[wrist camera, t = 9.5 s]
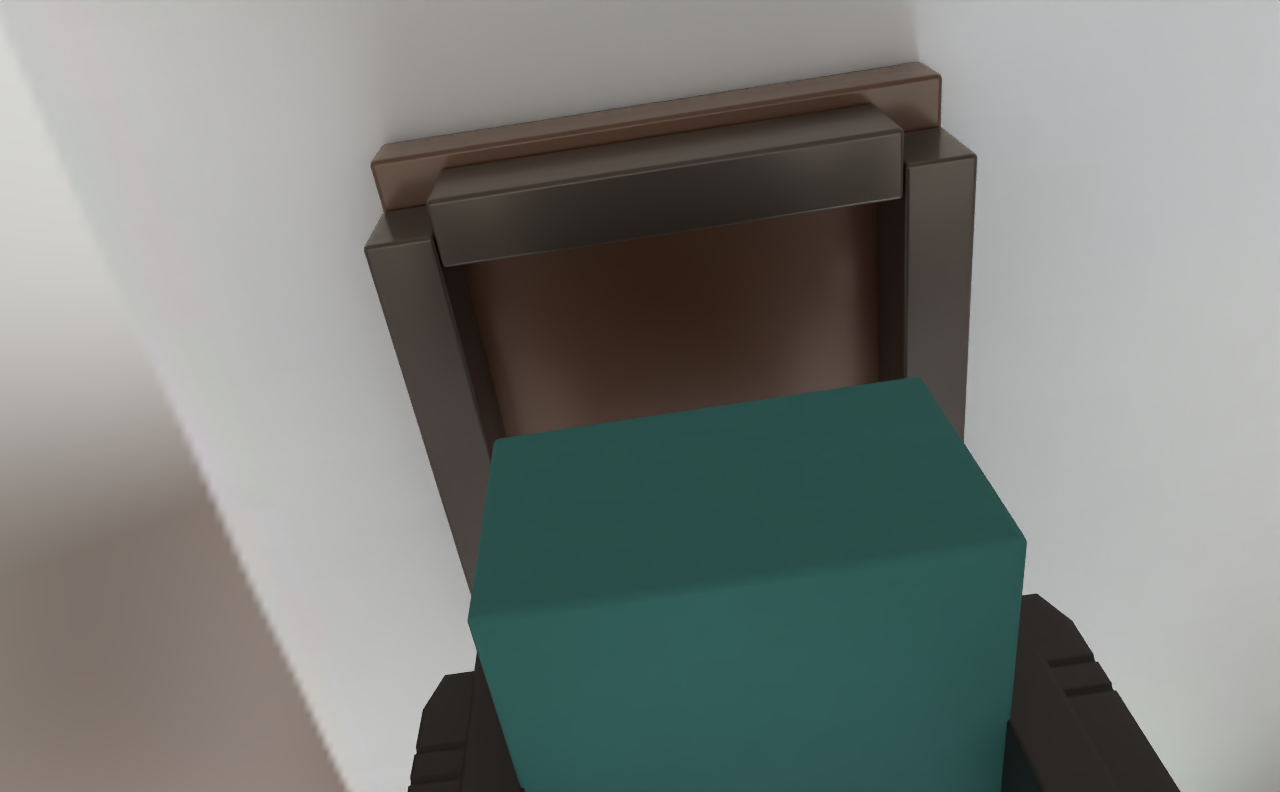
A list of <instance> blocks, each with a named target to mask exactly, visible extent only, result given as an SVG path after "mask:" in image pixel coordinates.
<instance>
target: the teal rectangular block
mask: <svg viewBox="0 0 1280 792" xmlns="http://www.w3.org/2000/svg"><path fill="white" fill-rule="evenodd" d="M1026 546H1027V541H1026V539H1025V537H1024V535H1023V534H1022V532H1021V530H1020V529H1019V527H1018V526H1017V524H1016V523H1015V521H1014V520H1013V518H1012V517H1011V515H1010V513H1009V512H1008V510H1007V509H1006V507H1005V506H1004V504H1003V503H1002V501H1001V500H1000V498H999V497H998V495H997V493H996V492H995V490H994V489H993V487H992V486H991V484H990V483H989V481H988V480H987V478H986V476H985V475H984V473H983V472H982V470H981V469H980V467H979V466H978V464H977V463H976V461H975V460H974V458H973V456H972V455H971V453H970V452H969V450H968V449H967V447H966V446H965V444H964V443H963V441H962V439H961V438H960V436H959V435H958V433H957V432H956V430H955V429H954V427H953V426H952V424H951V423H950V421H949V419H948V418H947V416H946V415H945V413H944V412H943V410H942V409H941V407H940V406H939V404H938V402H937V401H936V399H935V398H934V396H933V395H932V393H931V392H930V390H929V389H928V387H927V386H926V384H925V382H924V381H923V379H922V378H920V377H911V378H904V379H897V380H891V381H884V382H877V383H870V384H864V385H857V386H850V387H843V388H837V389H830V390H823V391H816V392H810V393H803V394H796V395H789V396H783V397H776V398H769V399H762V400H756V401H749V402H742V403H735V404H729V405H722V406H715V407H709V408H702V409H695V410H688V411H682V412H675V413H668V414H661V415H655V416H648V417H641V418H634V419H628V420H621V421H614V422H607V423H601V424H594V425H587V426H580V427H574V428H567V429H560V430H553V431H547V432H540V433H533V434H527V435H520V436H513V437H506V438H500V439H497V440H495V442H494V445H493V452H492V459H491V465H490V472H489V479H488V486H487V493H486V499H485V506H484V513H483V520H482V527H481V534H480V540H479V547H478V554H477V561H476V568H475V574H474V581H473V588H472V595H471V602H470V608H469V615H468V624H469V627H470V630H471V634H472V637H473V640H474V643H475V646H476V649H477V652H478V656H479V659H480V662H481V665H482V668H483V671H484V674H485V677H486V681H487V684H488V687H489V690H490V693H491V696H492V699H493V703H494V706H495V709H496V712H497V715H498V718H499V721H500V724H501V728H502V731H503V734H504V737H505V740H506V743H507V746H508V750H509V753H510V756H511V759H512V762H513V765H514V768H515V771H516V775H517V778H518V781H519V784H520V786H521V788H524V790H525V792H1001V784H1002V773H1003V762H1004V751H1005V740H1006V729H1007V721H1008V720H1010V716H1011V706H1012V695H1013V684H1014V674H1015V663H1016V652H1017V642H1018V631H1019V621H1020V610H1021V599H1022V589H1023V578H1024V567H1025V557H1026Z"/></svg>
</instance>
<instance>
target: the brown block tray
mask: <svg viewBox="0 0 1280 792" xmlns="http://www.w3.org/2000/svg"><path fill="white" fill-rule="evenodd" d="M941 95H942V77H941V75H940V74H939V73H937V72H936V71H934V70H932V69H931V68H929V67H928V66H926V65H925V64H923V63H920V62H916V63H910V64H903V65H897V66H891V67H884V68H878V69H871V70H865V71H858V72H852V73H845V74H839V75H832V76H826V77H819V78H813V79H806V80H800V81H793V82H787V83H781V84H774V85H768V86H761V87H755V88H748V89H742V90H735V91H729V92H722V93H716V94H709V95H703V96H696V97H690V98H683V99H677V100H671V101H664V102H658V103H651V104H645V105H638V106H632V107H625V108H619V109H612V110H606V111H599V112H593V113H586V114H580V115H573V116H567V117H561V118H554V119H548V120H541V121H535V122H528V123H522V124H515V125H509V126H502V127H496V128H489V129H483V130H476V131H470V132H464V133H457V134H451V135H444V136H438V137H431V138H425V139H418V140H412V141H405V142H399V143H392V144H386V145H383V146H382V147H381V148H380V150H379V151H378V153H377V154H376V156H375V157H374V159H373V160H372V162H371V170H372V173H373V177H374V180H375V183H376V187H377V190H378V194H379V197H380V200H381V204H382V207H383V211H384V213H383V214H382V216H381V218H380V220H379V221H378V223H377V225H376V227H375V229H374V230H373V232H372V234H371V236H370V238H369V240H368V241H367V243H366V245H365V247H364V252H365V255H366V258H367V262H368V265H369V268H370V271H371V274H372V278H373V281H374V284H375V287H376V291H377V294H378V297H379V300H380V303H381V307H382V310H383V313H384V316H385V320H386V323H387V326H388V329H389V332H390V336H391V339H392V342H393V345H394V349H395V352H396V355H397V358H398V361H399V365H400V368H401V371H402V374H403V378H404V381H405V384H406V387H407V390H408V394H409V397H410V400H411V403H412V407H413V410H414V413H415V416H416V419H417V423H418V426H419V429H420V432H421V435H422V439H423V442H424V445H425V448H426V452H427V455H428V458H429V461H430V464H431V468H432V471H433V474H434V477H435V481H436V484H437V487H438V490H439V493H440V497H441V500H442V503H443V506H444V510H445V513H446V516H447V519H448V522H449V526H450V529H451V532H452V535H453V539H454V542H455V545H456V548H457V551H458V555H459V558H460V561H461V564H462V568H463V571H464V574H465V577H466V580H467V584H468V587H469V590H470V593H471V595H472V588H473V581H474V574H475V568H476V561H477V554H478V547H479V540H480V534H481V527H482V520H483V513H484V506H485V499H486V493H487V486H488V479H489V472H490V465H491V459H492V452H493V445H494V442H495V440H497V439H500V438H506V437H513V436H520V435H527V434H533V433H540V432H547V431H553V430H560V429H567V428H574V427H580V426H587V425H594V424H601V423H607V422H614V421H621V420H628V419H634V418H641V417H648V416H655V415H661V414H668V413H675V412H682V411H688V410H695V409H702V408H709V407H715V406H722V405H729V404H735V403H742V402H749V401H756V400H762V399H769V398H776V397H783V396H789V395H796V394H803V393H810V392H816V391H823V390H830V389H837V388H843V387H850V386H857V385H864V384H870V383H877V382H884V381H891V380H897V379H904V378H911V377H920V378H922V379H923V381H924V382H925V384H926V386H927V387H928V389H929V390H930V392H931V393H932V395H933V396H934V398H935V399H936V401H937V402H938V404H939V406H940V407H941V409H942V410H943V412H944V413H945V415H946V416H947V418H948V419H949V421H950V423H951V424H952V426H953V427H954V429H955V430H956V432H957V433H958V435H959V436H960V438H961V439H962V441H963V443H964V426H965V405H966V383H967V362H968V341H969V320H970V299H971V278H972V256H973V235H974V214H975V193H976V172H977V156H976V154H975V153H974V152H972V151H971V150H970V149H969V148H967V147H966V146H965V145H963V144H962V143H961V142H960V141H958V140H957V139H956V138H955V137H953V136H952V135H951V134H949V133H948V132H947V131H946V130H944V129H943V128H941Z"/></svg>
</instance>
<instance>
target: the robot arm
mask: <svg viewBox="0 0 1280 792" xmlns="http://www.w3.org/2000/svg"><path fill="white" fill-rule="evenodd" d="M416 750H417V753H416V755H414V760H413V766H412V771H411V776H410V779H411V786H409V787H408V792H525V790H524V788H521V786H520V784H519V781H518V778H517V775H516V771H515V768H514V765H513V762H512V759H511V756H510V753H509V750H508V746H507V743H506V740H505V737H504V734H503V731H502V728H501V724H500V721H499V718H498V715H497V712H496V709H495V706H494V703H493V699H492V696H491V693H490V690H489V687H488V684H487V681H486V677H485V674H484V671H483V668H482V665H481V662H480V659H479V656H478V652H477V656H476V663H475V671H472V672H464V673H457V674H450V675H445V676H444V678H443V679H442V681H441V682H440V684H439V685H438V687H437V689H436V690H435V692H434V693H433V695H432V696H431V698H430V700H429V701H428V703H427V704H426V706H425V707H424V709H423V712H422V718H421V723H420V728H419V734H418V739H417V744H416ZM1001 792H1180V790H1179V789H1178V787H1177V786H1176V784H1175V782H1174V781H1173V779H1172V778H1171V776H1170V775H1169V773H1168V771H1167V770H1166V768H1165V767H1164V765H1163V763H1162V762H1161V760H1160V759H1159V757H1158V756H1157V754H1156V752H1155V751H1154V749H1153V748H1152V746H1151V745H1150V743H1149V741H1148V740H1147V738H1146V737H1145V735H1144V734H1143V732H1142V730H1141V729H1140V727H1139V726H1138V724H1137V722H1136V721H1135V719H1134V718H1133V716H1132V715H1131V713H1130V711H1129V710H1128V708H1127V707H1126V705H1125V704H1124V702H1123V700H1122V699H1121V697H1120V696H1119V694H1118V692H1117V691H1114V690H1113V688H1112V683H1111V681H1110V680H1109V678H1108V677H1107V675H1106V674H1105V672H1104V670H1103V669H1102V667H1101V666H1100V664H1099V663H1098V662H1095V660H1094V655H1093V653H1092V651H1091V650H1090V648H1089V647H1088V645H1087V644H1086V642H1085V640H1084V639H1083V637H1082V636H1081V634H1080V633H1079V631H1078V629H1077V628H1076V626H1075V625H1074V623H1073V622H1072V620H1070V619H1069V618H1068V617H1066V616H1065V615H1064V614H1063V613H1061V612H1060V611H1059V610H1057V609H1056V608H1055V607H1053V606H1052V605H1051V604H1050V603H1048V602H1047V601H1046V600H1044V599H1043V598H1042V597H1041V596H1039V595H1038V594H1030V595H1023V596H1022V599H1021V610H1020V621H1019V631H1018V642H1017V652H1016V663H1015V674H1014V684H1013V695H1012V706H1011V716H1010V720H1008V721H1007V729H1006V740H1005V751H1004V762H1003V773H1002V784H1001Z"/></svg>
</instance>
